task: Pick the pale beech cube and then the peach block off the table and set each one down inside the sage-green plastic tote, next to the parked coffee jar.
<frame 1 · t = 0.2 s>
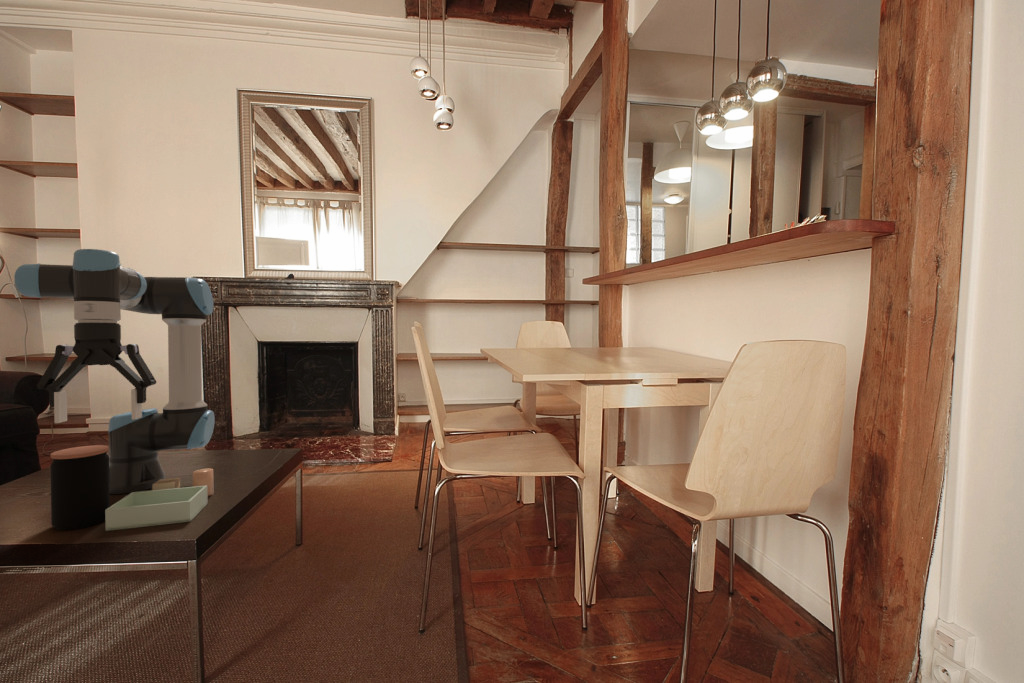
hand: (99, 420, 101), 28 cm above the table, fingers open, 13 cm apart
peach block: (203, 494, 135), on the table
tote: (160, 516, 118), on the table
coffee jar: (81, 523, 115), on the table
beech cube: (166, 498, 132), on the table
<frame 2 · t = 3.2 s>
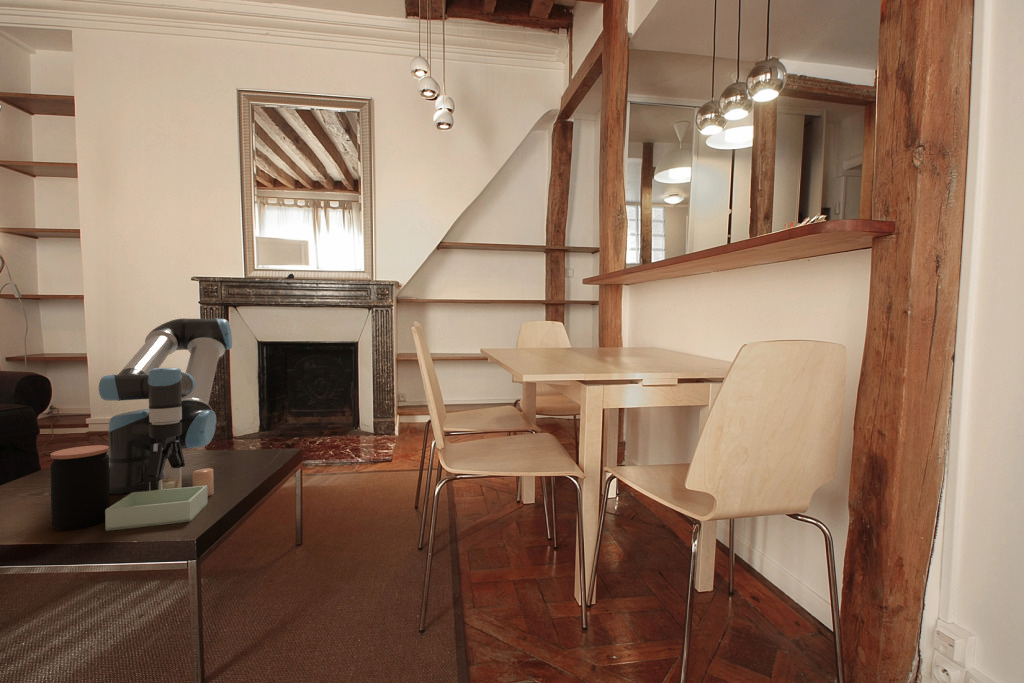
hand: (166, 497, 132), 0 cm above the table, fingers open, 13 cm apart
nothing on the table moved.
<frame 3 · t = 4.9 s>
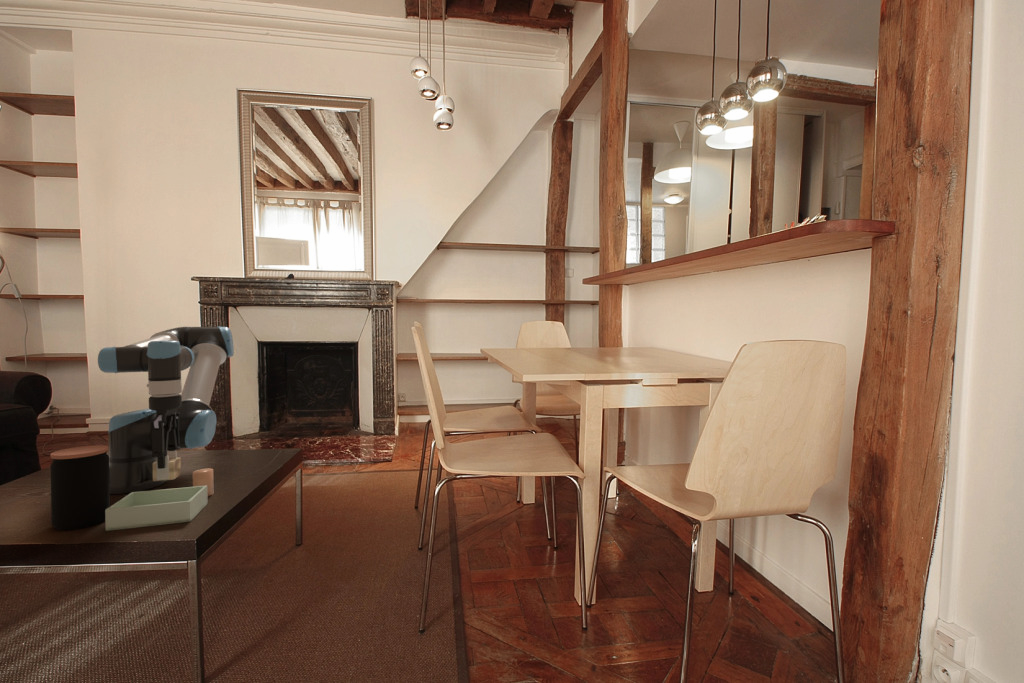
hand: (167, 475, 133), 6 cm above the table, fingers closed on beech cube, 5 cm apart
beech cube: (167, 477, 133), point 6 cm above the table, touching gripper
everything else where it was.
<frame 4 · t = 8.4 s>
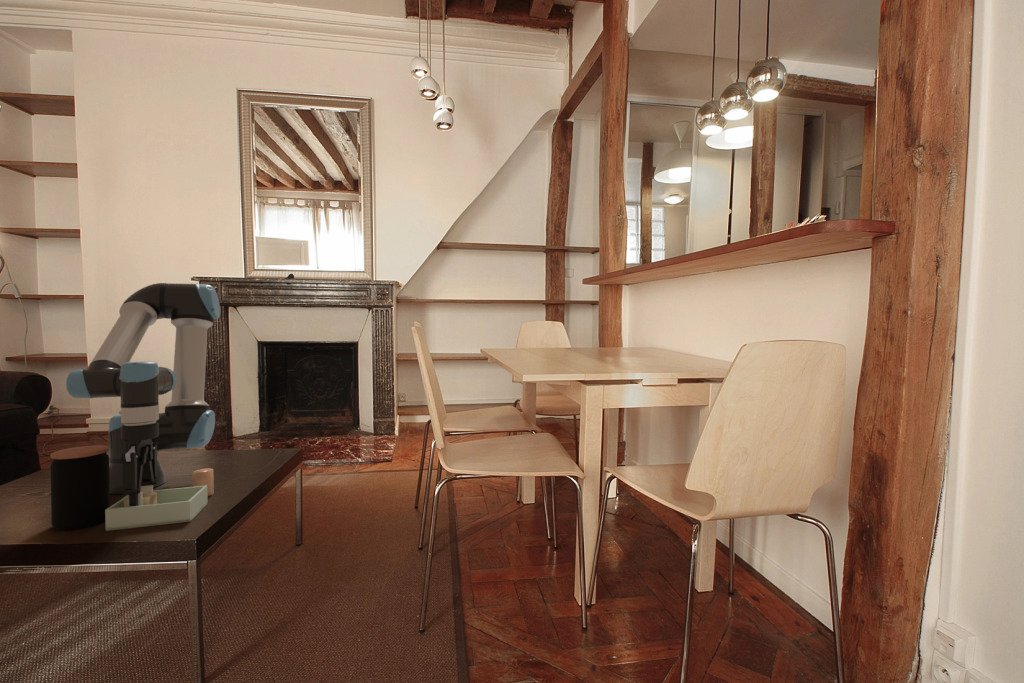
hand: (141, 515, 117), 1 cm above the table, fingers closed on beech cube, 5 cm apart
beech cube: (141, 516, 117), point 1 cm above the table, touching gripper, tote
everything else where it was.
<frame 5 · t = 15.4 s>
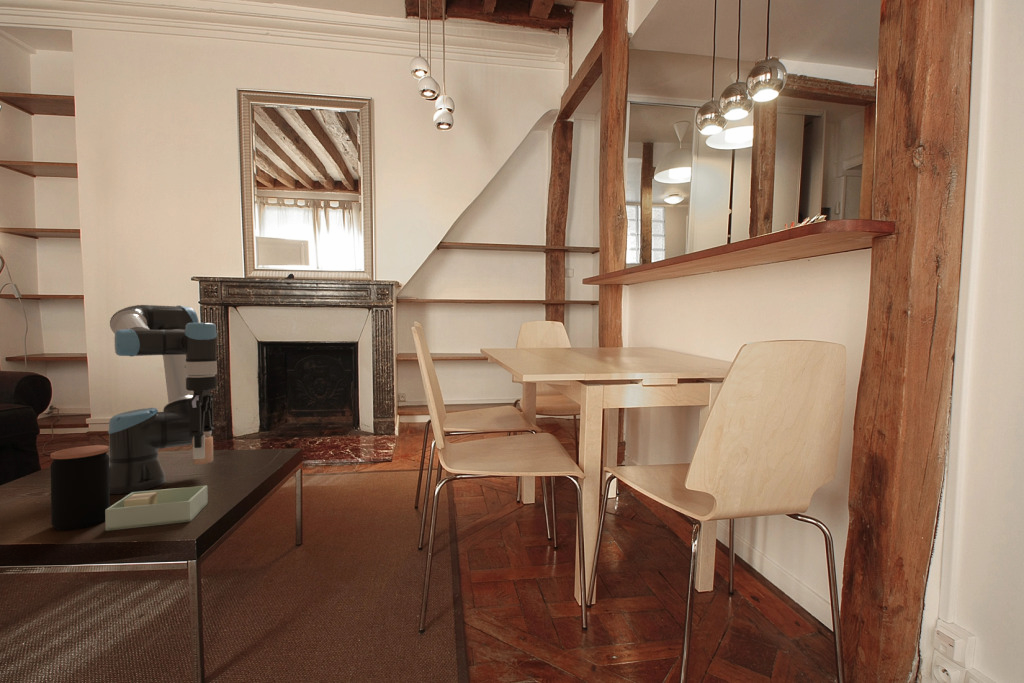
hand: (202, 455, 135), 11 cm above the table, fingers closed on peach block, 5 cm apart
peach block: (203, 462, 135), point 9 cm above the table, touching gripper
beech cube: (141, 516, 117), point 1 cm above the table, touching tote
everything else where it was.
when the fingers open (1 cm above the table, at t = 19.0 s): peach block stays where it is, resting on tote.
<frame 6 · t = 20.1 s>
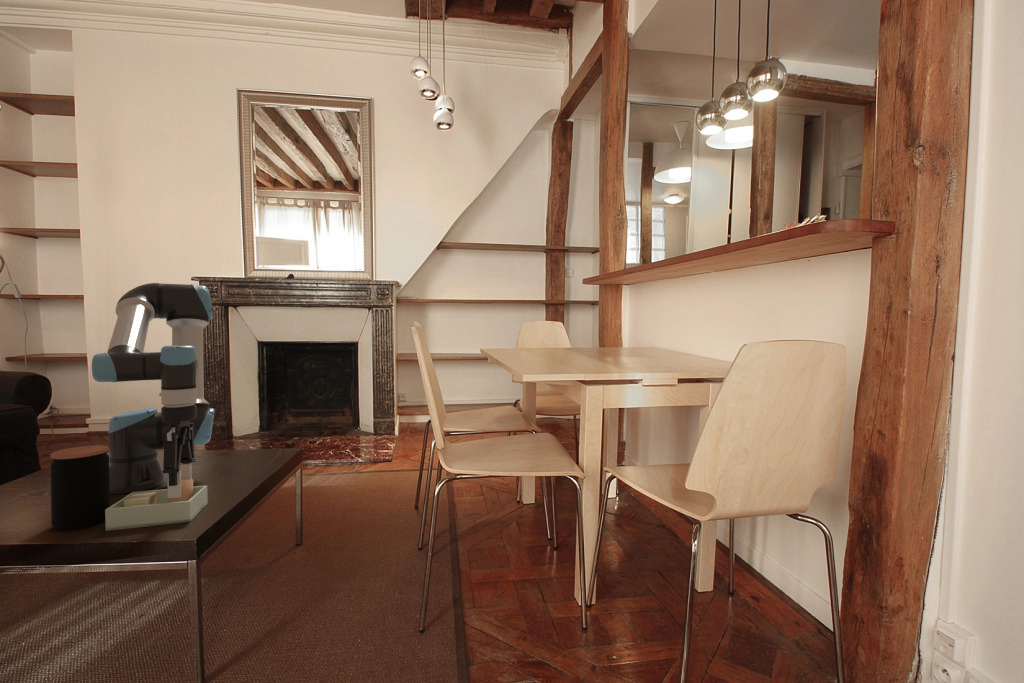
hand: (180, 492, 121), 5 cm above the table, fingers open, 7 cm apart
peach block: (179, 508, 120), point 1 cm above the table, tilted 18°, touching tote
everything else where it was.
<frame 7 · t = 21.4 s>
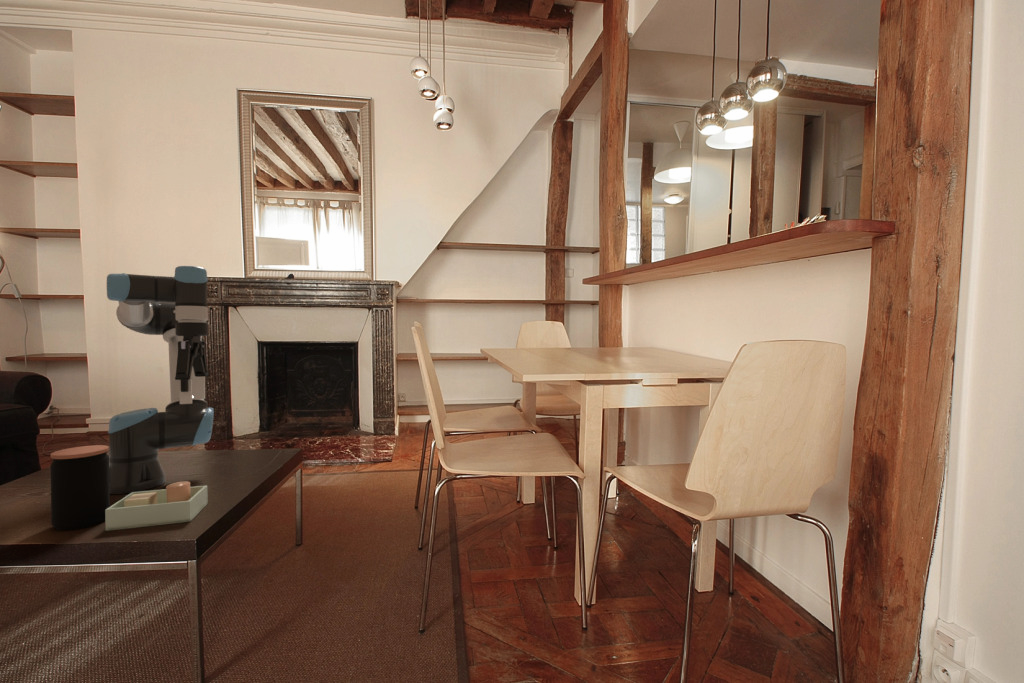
hand: (193, 401, 130), 28 cm above the table, fingers open, 10 cm apart
peach block: (179, 511, 120), point 1 cm above the table, touching tote
everything else where it was.
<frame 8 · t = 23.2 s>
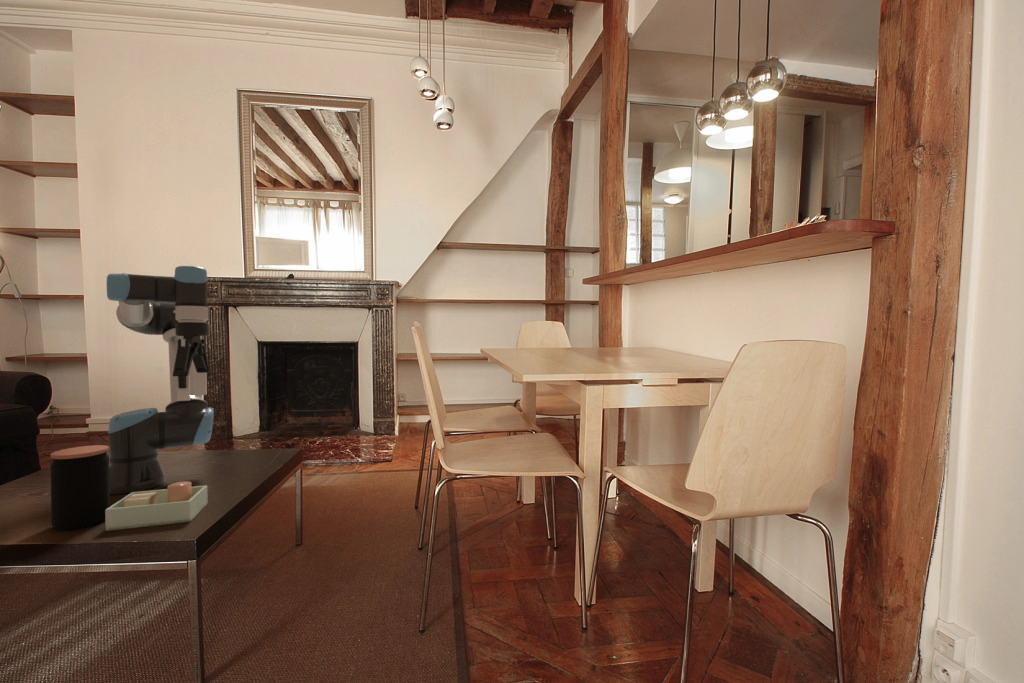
hand: (193, 397, 130), 29 cm above the table, fingers open, 13 cm apart
nothing on the table moved.
at the end: beech cube inside the target area on the tote (4.0 cm from its centre), point 0.6 cm above the tote's base; peach block inside the target area on the tote (4.1 cm from its centre), point 0.6 cm above the tote's base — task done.
